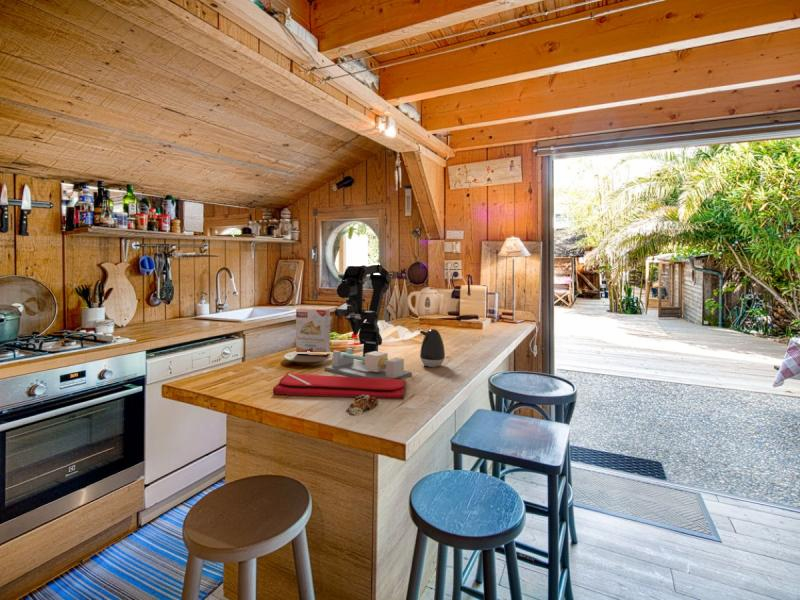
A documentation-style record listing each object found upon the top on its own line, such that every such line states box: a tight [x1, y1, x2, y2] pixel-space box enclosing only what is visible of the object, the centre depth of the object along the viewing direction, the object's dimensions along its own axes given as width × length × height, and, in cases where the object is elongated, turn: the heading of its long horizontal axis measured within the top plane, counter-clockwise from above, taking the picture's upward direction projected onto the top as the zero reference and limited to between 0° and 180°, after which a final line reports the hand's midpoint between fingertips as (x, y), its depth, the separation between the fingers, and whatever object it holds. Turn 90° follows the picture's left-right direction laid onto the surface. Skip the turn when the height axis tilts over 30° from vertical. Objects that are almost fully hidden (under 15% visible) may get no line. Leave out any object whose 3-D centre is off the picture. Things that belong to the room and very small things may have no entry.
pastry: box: [345, 394, 379, 416], centre depth 119 cm, size 7×12×4 cm, turn 165°
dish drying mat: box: [272, 372, 406, 400], centre depth 136 cm, size 16×41×4 cm, turn 87°
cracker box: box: [295, 307, 331, 353], centre depth 186 cm, size 14×6×21 cm, turn 81°
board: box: [324, 347, 413, 380], centre depth 158 cm, size 16×30×7 cm, turn 53°
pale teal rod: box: [340, 351, 389, 369], centre depth 158 cm, size 4×29×4 cm, turn 53°
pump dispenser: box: [419, 328, 446, 368], centre depth 169 cm, size 10×10×15 cm
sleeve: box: [364, 350, 389, 372], centre depth 155 cm, size 6×6×6 cm
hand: (355, 335), depth 167 cm, fingers closed
